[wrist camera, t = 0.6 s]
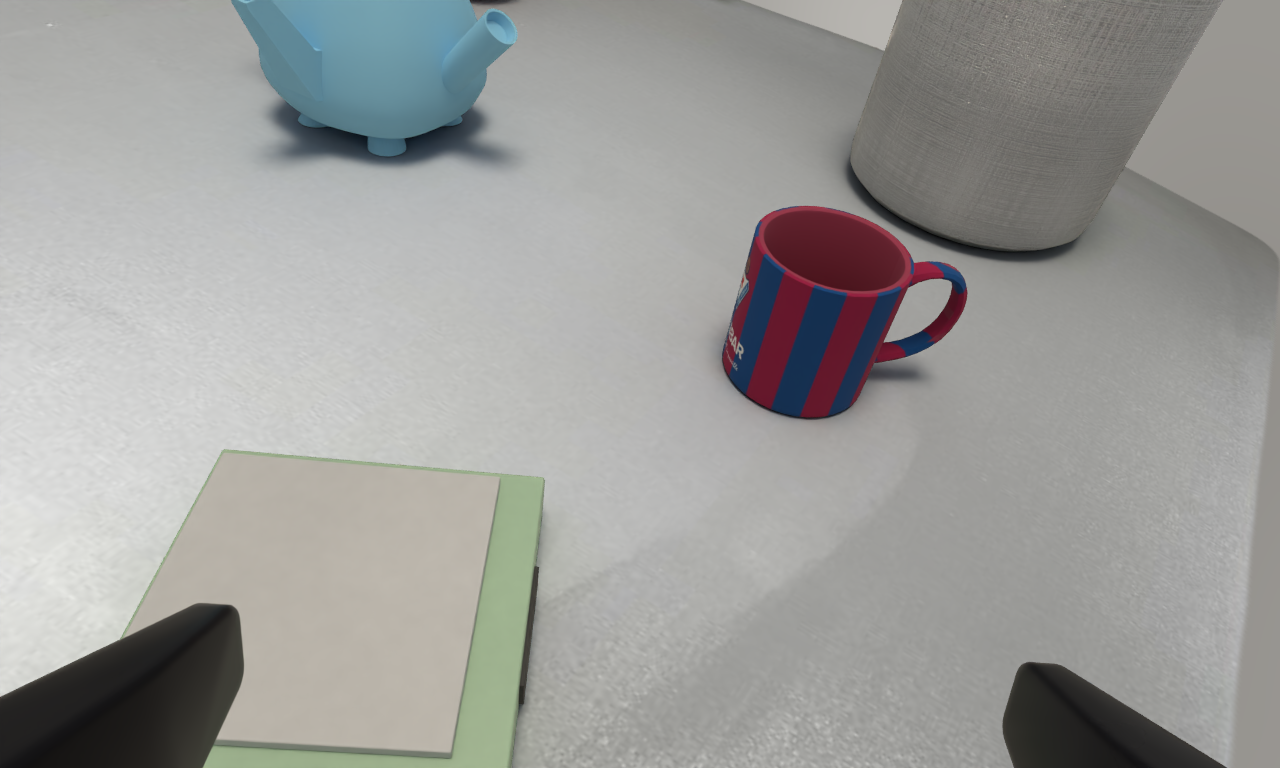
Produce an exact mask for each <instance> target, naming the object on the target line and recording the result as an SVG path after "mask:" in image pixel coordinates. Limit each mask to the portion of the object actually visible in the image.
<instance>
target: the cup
mask: <svg viewBox="0 0 1280 768" xmlns="http://www.w3.org/2000/svg"><path fill="white" fill-rule="evenodd" d="M929 279H945V280H949V281H951V282H952V290H951V295H950V298H949V300H948V302H947V304H946V306H945V308H944V309H943V311H942V312H941V313H940V315H939V316H938V318H937V319H936V320H935V321H933V322H932V323H931V324H930V325H929V326H928V327H926V328H925V329H924V330H922V331H921V332H919V333H917V334H914V335H912V336H910V337H907V338H904V339H901V340H897V341H892V342H885V343H883V342H884V340H885V337H886V335H887V333H888V331H889V329H890V326H891V324H892V322H893V320H894V318H895V315H896V313H897V311H898V309H899V306H900V304H901V302H902V300H903V298H904V295H905V293H906V291H907V289H908V288H909V287H911V286H913V285H915V284H916V283H918V282H922V281H925V280H929ZM966 300H967V287H966V283H965V280H964V278H963V276H962V275H961V273H960V272H959V271H958V270H957V269H956V268H955V267H953V266H951V265H949V264H946V263H941V262H918V263H914V262H913V260H912V258H911V255H910V254H909V252H908V251H907V249H906V248H905V247H904V245H903V244H902V243H901V242H900V241H899V240H898V239H897V238H895V237H894V236H893V235H892V234H890V233H889V232H888V231H886V230H885V229H883V228H881V227H880V226H878V225H876V224H874V223H872V222H870V221H868V220H866V219H864V218H861V217H859V216H856V215H854V214H850V213H847V212H844V211H840V210H835V209H831V208H825V207H817V206H794V207H788V208H782V209H779V210H776V211H773V212H771V213H769V214H768V215H766V216H765V217H764V218H762V219H761V220H760V221H759V223H758V225H757V227H756V230H755V233H754V237H753V241H752V244H751V248H750V252H749V256H748V259H747V263H746V267H745V270H744V274H743V278H742V281H741V285H740V289H739V293H738V296H737V300H736V304H735V307H734V311H733V315H732V319H731V322H730V326H729V330H728V333H727V337H726V341H725V344H724V349H723V363H724V366H725V369H726V372H727V373H728V375H729V377H730V378H731V380H732V381H733V382H734V384H735V385H736V386H737V387H738V388H739V389H740V390H741V391H742V392H743V393H744V394H746V395H747V396H748V397H750V398H751V399H753V400H754V401H756V402H757V403H759V404H761V405H763V406H765V407H767V408H769V409H772V410H774V411H777V412H780V413H783V414H788V415H792V416H798V417H823V416H830V415H833V414H836V413H839V412H841V411H843V410H845V409H847V408H848V407H850V406H851V405H852V404H853V403H854V402H855V401H856V400H857V398H858V396H859V395H860V393H861V390H862V388H863V386H864V384H865V382H866V379H867V377H868V375H869V373H870V371H871V368H872V366H873V364H874V363H878V362H885V361H890V360H895V359H899V358H903V357H907V356H910V355H913V354H916V353H918V352H921V351H923V350H925V349H927V348H929V347H930V346H932V345H933V344H935V343H936V342H938V341H939V340H941V339H942V338H943V337H944V336H945V335H946V334H947V333H948V332H949V331H950V330H951V329H952V327H953V326H954V325H955V323H956V322H957V321H958V319H959V317H960V315H961V314H962V312H963V310H964V307H965V304H966Z"/></svg>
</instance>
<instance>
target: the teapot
mask: <svg viewBox="0 0 1280 768" xmlns="http://www.w3.org/2000/svg"><path fill="white" fill-rule="evenodd" d="M231 1H232V4H233V5H234V7H235V9H236V10H237V12H238V14H239V15H240V17H241V19H242V20H243V22H244V24H245V25H246V27H247V29H248V30H249V32H250V34H251V36H252V37H253V39H254V41H255V42H256V44H257V46H258V47H259V57H260V63H261V68H262V70H263V72H264V74H265V76H266V78H267V80H268V81H269V83H270V84H271V85H272V87H273V88H274V89H275V90H276V91H277V92H278V94H279V95H280V96H281V97H282V98H283V99H284V100H285V101H286V102H287V103H288V104H289V105H291V106H292V107H293V108H295V109H296V110H297V111H299V112H301V115H300V116H299V118H298V121H299V123H301V124H302V125H305V126H308V127H316V128H319V127H327V126H330V127H333V128H337V129H340V130H344V131H348V132H352V133H356V134H360V135H365V136H368V150H369V151H370V152H371V153H373V154H375V155H379V156H396V155H399V154H402V153H403V152H405V151H406V143H405V139H404V138H408V137H413V136H417V135H420V134H423V133H426V132H429V131H431V130H434V129H436V128H439V127H441V126H454V125H457V124H459V123H461V122H462V117H461V115H462V114H464V113H465V112H467V111H468V110H469V109H470V108H471V106H472V105H473V104H474V102H475V101H476V99H477V98H478V96H479V94H480V93H481V91H482V89H483V87H484V86H485V82H486V76H487V73H486V68H487V67H488V66H489V65H490V64H492V63H493V62H494V61H495V60H496V59H497V58H498V57H499V56H500V55H502V54H503V53H504V52H505V51H506V50H507V49H508V48H509V47H510V46H512V45H513V44H514V43H515V42H516V40H517V30H516V27H515V25H514V23H513V22H512V20H511V19H510V18H509V17H508V16H507V15H506V14H505V13H503V12H502V11H500V10H497V9H489V10H487V11H486V12H485V14H484V15H483V16H482V17H481V18H480V19H479V20H478V21H477V18H476V16H475V13H474V10H473V8H472V5H471V3H470V0H231Z"/></svg>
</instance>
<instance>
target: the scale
mask: <svg viewBox="0 0 1280 768" xmlns="http://www.w3.org/2000/svg"><path fill="white" fill-rule="evenodd" d="M544 483H545V480H544V478H542V477H531V476H520V475H508V474H497V473H486V472H474V471H463V470H452V469H441V468H429V467H418V466H407V465H395V464H384V463H373V462H362V461H350V460H339V459H328V458H316V457H305V456H294V455H282V454H271V453H260V452H249V451H237V450H226V449H225V450H223V451H222V452H221V454H220V456H219V458H218V460H217V462H216V463H215V465H214V467H213V469H212V471H211V473H210V474H209V476H208V478H207V480H206V482H205V484H204V485H203V487H202V489H201V491H200V493H199V495H198V497H197V498H196V500H195V502H194V504H193V506H192V508H191V509H190V511H189V513H188V515H187V517H186V519H185V521H184V522H183V524H182V526H181V528H180V530H179V532H178V533H177V535H176V537H175V539H174V541H173V543H172V545H171V546H170V548H169V550H168V552H167V554H166V556H165V557H164V559H163V561H162V563H161V565H160V567H159V569H158V570H157V572H156V574H155V576H154V578H153V580H152V581H151V583H150V585H149V587H148V589H147V591H146V593H145V594H144V596H143V598H142V600H141V602H140V604H139V605H138V607H137V609H136V611H135V613H134V615H133V617H132V618H131V620H130V622H129V624H128V626H127V628H126V629H125V631H124V633H123V635H122V637H121V639H122V638H124V637H126V636H129V635H131V634H133V633H135V632H137V631H139V630H141V629H143V628H145V627H147V626H149V625H152V624H154V623H156V622H158V621H160V620H162V619H164V618H166V617H168V616H170V615H172V614H174V613H177V612H179V611H181V610H183V609H185V608H187V607H189V606H191V605H193V604H196V603H214V604H228V605H232V606H234V607H235V608H236V609H237V610H238V612H239V616H240V622H241V633H242V644H243V655H244V675H243V679H242V683H241V686H240V688H239V691H238V693H237V695H236V697H235V699H234V702H233V704H232V706H231V708H230V710H229V712H228V715H227V717H226V719H225V721H224V723H223V725H222V728H221V730H220V732H219V734H218V736H217V738H216V741H215V743H214V745H213V747H212V749H211V751H210V753H209V756H208V758H207V760H206V762H205V764H204V766H203V768H511V765H512V757H513V749H514V741H515V732H516V724H517V716H518V708H519V704H524V697H525V688H526V680H527V671H528V663H529V654H530V646H531V637H532V629H533V620H534V612H535V603H536V595H537V586H538V572H539V567H536V560H537V552H538V544H539V536H540V528H541V519H542V511H543V497H544Z"/></svg>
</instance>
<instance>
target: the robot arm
mask: <svg viewBox="0 0 1280 768" xmlns="http://www.w3.org/2000/svg"><path fill="white" fill-rule="evenodd" d="M243 675H244V655H243V644H242V633H241V622H240V616H239V612H238V610H237V609H236V608H235V607H234V606H232V605H228V604H214V603H196V604H193V605H191V606H189V607H187V608H185V609H183V610H181V611H179V612H177V613H174V614H172V615H170V616H168V617H166V618H164V619H162V620H160V621H158V622H156V623H154V624H152V625H149V626H147V627H145V628H143V629H141V630H139V631H137V632H135V633H133V634H131V635H129V636H126V637H124V638H122V639H120V640H118V641H116V642H114V643H112V644H110V645H108V646H106V647H103V648H101V649H99V650H97V651H95V652H93V653H91V654H89V655H87V656H85V657H83V658H81V659H78V660H76V661H74V662H72V663H70V664H68V665H66V666H64V667H62V668H60V669H58V670H55V671H53V672H51V673H49V674H47V675H45V676H43V677H41V678H39V679H37V680H35V681H33V682H30V683H28V684H26V685H24V686H22V687H20V688H18V689H16V690H14V691H12V692H10V693H7V694H5V695H3V696H1V697H0V768H203V766H204V764H205V762H206V760H207V758H208V756H209V753H210V751H211V749H212V747H213V745H214V743H215V741H216V738H217V736H218V734H219V732H220V730H221V728H222V725H223V723H224V721H225V719H226V717H227V715H228V712H229V710H230V708H231V706H232V704H233V702H234V699H235V697H236V695H237V693H238V691H239V688H240V686H241V683H242V679H243ZM1003 735H1004V740H1005V743H1006V746H1007V749H1008V752H1009V755H1010V757H1011V760H1012V763H1013V766H1014V768H1226V767H1225V766H1223V765H1222V764H1220V763H1218V762H1217V761H1215V760H1214V759H1212V758H1210V757H1209V756H1207V755H1206V754H1204V753H1202V752H1201V751H1199V750H1197V749H1196V748H1194V747H1193V746H1191V745H1189V744H1188V743H1186V742H1185V741H1183V740H1181V739H1180V738H1178V737H1176V736H1175V735H1173V734H1172V733H1170V732H1168V731H1167V730H1165V729H1164V728H1162V727H1160V726H1159V725H1157V724H1155V723H1154V722H1152V721H1151V720H1149V719H1147V718H1146V717H1144V716H1143V715H1141V714H1139V713H1138V712H1136V711H1134V710H1133V709H1131V708H1130V707H1128V706H1126V705H1125V704H1123V703H1122V702H1120V701H1118V700H1117V699H1115V698H1113V697H1112V696H1110V695H1109V694H1107V693H1105V692H1104V691H1102V690H1101V689H1099V688H1097V687H1096V686H1094V685H1092V684H1091V683H1089V682H1088V681H1086V680H1084V679H1083V678H1081V677H1080V676H1078V675H1076V674H1075V673H1073V672H1071V671H1070V670H1068V669H1067V668H1065V667H1063V666H1061V665H1058V664H1050V663H1036V662H1027V663H1024V664H1022V665H1021V666H1020V667H1019V669H1018V671H1017V673H1016V676H1015V680H1014V683H1013V686H1012V690H1011V693H1010V696H1009V700H1008V703H1007V706H1006V710H1005V713H1004V717H1003Z"/></svg>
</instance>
